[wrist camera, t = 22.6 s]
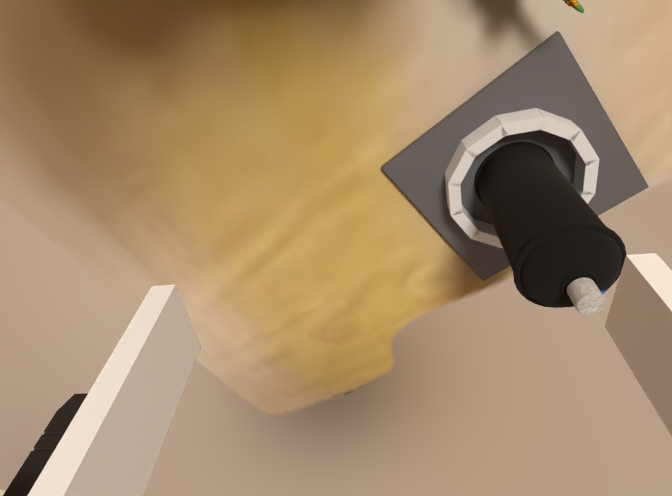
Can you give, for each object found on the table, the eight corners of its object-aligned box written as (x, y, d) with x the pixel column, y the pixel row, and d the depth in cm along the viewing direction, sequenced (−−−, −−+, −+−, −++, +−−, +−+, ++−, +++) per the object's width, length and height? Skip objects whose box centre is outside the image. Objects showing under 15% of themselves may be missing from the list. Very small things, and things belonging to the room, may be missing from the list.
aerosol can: (458, 176, 48) (507, 301, 32) (527, 124, 45) (622, 235, 28) (501, 224, 51) (566, 361, 35) (569, 179, 48) (676, 308, 31)
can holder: (482, 277, 57) (487, 294, 54) (381, 166, 49) (382, 179, 46) (645, 184, 48) (661, 198, 46) (557, 31, 40) (570, 37, 38)
